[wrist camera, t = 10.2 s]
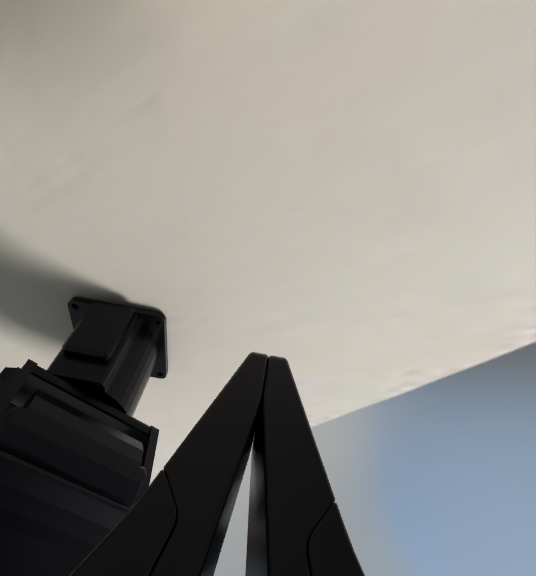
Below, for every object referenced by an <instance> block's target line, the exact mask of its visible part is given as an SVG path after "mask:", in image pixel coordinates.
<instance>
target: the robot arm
mask: <svg viewBox="0 0 536 576" xmlns="http://www.w3.org/2000/svg"><path fill="white" fill-rule="evenodd" d="M76 304H77V305H76ZM68 308H69V312H70V316H71V320H72V324H73V329H74V330H73V332H72V333H71V335H70V336H69V337H68V339H67V340H66V342H65V343H64V345H63V346H62V349H61V351H60V352H59V354H58V355H57V356H56V358H55V359H54V361H53V362H52V363H51V365H50V366H49V368H48V369H47V371H46V370H45V369H43V368H41V367H39V366H37V363H35V362H33V361H32V360H30V359H28V361H27V362H26V363H25V365H24V366H23V367H22V368H21V369H20V368H19V367H17V368H8V367H5V368H4V370H3V371H2V372H1V373H0V576H213V575H214V572H215V568H216V565H217V562H218V558H219V555H220V552H221V548H222V545H223V542H224V538H225V535H226V532H227V528H228V525H229V522H230V518H231V515H232V511H233V508H234V505H235V502H236V498H237V495H238V492H239V488H240V485H241V482H242V479H243V475H244V472H245V469H246V465H247V462H248V459H249V455H250V451H251V447H252V457H251V477H250V496H249V497H250V498H249V515H248V536H247V556H246V575H245V576H365V575H364V573H363V571H362V568H361V566H360V564H359V562H358V559H357V557H356V554H355V552H354V550H353V547H352V544H351V542H350V539H349V536H348V534H347V531H346V529H345V526H344V523H343V520H342V517H341V514H340V511H339V509H338V506H337V504H336V503H334V501H335V497H334V495H333V492H332V489H331V486H330V483H329V480H328V477H327V474H326V471H325V468H324V466H323V463H322V460H321V457H320V454H319V451H318V448H317V445H316V442H315V440H314V436H313V434H312V431H311V428H310V425H309V422H308V419H307V416H306V413H305V410H304V407H303V405H302V402H301V399H300V396H299V393H298V390H297V387H296V384H295V381H294V378H293V376H292V373H291V370H290V367H289V364H288V361H287V360H286V359H285V358H282V357H277V356H269V358H268V356H267V355H266V354H261V353H255V352H252V353H250V354H249V355H248V356H247V358H246V359H245V360H244V362H243V363H242V364H241V366H240V367H239V368H238V370H237V371H236V372H235V373H234V375H233V376H232V377H231V379H230V380H229V381H228V383H227V384H226V385H225V387H224V388H223V389H222V391H221V392H220V393H219V395H218V396H217V397H216V399H215V400H214V401H213V403H212V404H211V405H210V407H209V408H208V409H207V411H206V412H205V413H204V415H203V416H202V417H201V419H200V420H199V421H198V422H197V424H196V425H195V426H194V428H193V429H192V430H191V432H190V433H189V434H188V436H187V437H186V438H185V440H184V441H183V442H182V444H181V445H180V446H179V448H178V449H177V450H176V452H175V453H174V454H173V456H172V457H171V458H170V460H169V461H168V462H167V464H166V465H165V466H164V470H161V471H160V472H159V474H158V475H157V476H156V478H155V479H154V480H153V482H152V483H151V484H150V486H149V483H150V478H151V472H152V467H153V461H154V456H155V450H156V445H157V439H158V434H159V429H157V428H155V427H153V426H148V425H146V424H144V423H142V422H141V421H139V420H137V419H135V418H133V417H132V416H133V414H134V412H135V409H136V407H137V405H138V402H139V400H140V398H141V396H142V393H143V391H144V389H145V387H146V384H147V382H148V380H149V377H155V378H162V379H163V378H165V377H166V375H167V373H168V358H167V329H166V317H165V315H164V314H162V313H160V312H155V311H150V310H144V309H139V308H133V307H128V306H122V305H117V304H111V303H106V302H101V301H95V300H90V299H84V298H79V297H73V298H72V299H71V300H70V301H69V303H68ZM157 319H158V320H157ZM253 438H254V439H253ZM252 443H253V446H252Z"/></svg>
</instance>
